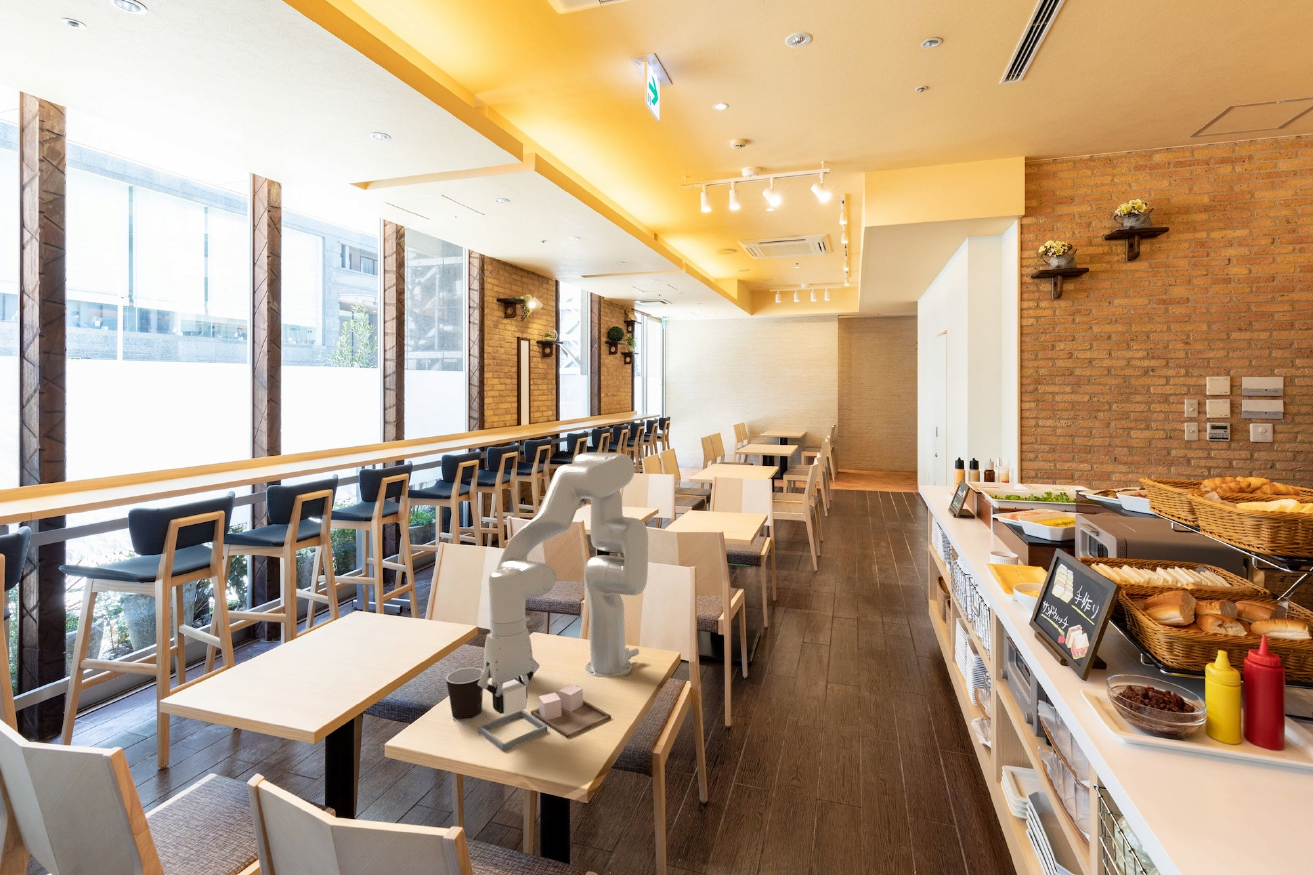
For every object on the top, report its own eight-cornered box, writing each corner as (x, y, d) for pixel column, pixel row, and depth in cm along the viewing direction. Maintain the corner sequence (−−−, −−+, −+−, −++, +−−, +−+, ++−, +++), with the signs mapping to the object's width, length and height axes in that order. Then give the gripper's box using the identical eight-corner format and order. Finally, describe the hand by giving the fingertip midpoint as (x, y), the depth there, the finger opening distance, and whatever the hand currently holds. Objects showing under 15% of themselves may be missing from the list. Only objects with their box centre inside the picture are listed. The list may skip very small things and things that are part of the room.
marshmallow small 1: (571, 700, 155) (570, 684, 155) (583, 704, 153) (582, 688, 152) (559, 706, 152) (558, 690, 152) (571, 711, 149) (570, 695, 149)
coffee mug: (475, 727, 145) (473, 684, 145) (441, 724, 147) (438, 682, 147) (497, 702, 157) (496, 663, 156) (465, 700, 159) (463, 661, 158)
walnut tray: (573, 700, 157) (572, 694, 157) (611, 722, 146) (610, 715, 146) (530, 718, 149) (530, 711, 149) (567, 742, 138) (567, 735, 138)
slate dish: (521, 718, 149) (521, 709, 149) (547, 735, 141) (547, 726, 141) (478, 736, 142) (477, 726, 141) (503, 755, 133) (502, 745, 133)
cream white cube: (515, 700, 144) (514, 679, 144) (526, 708, 140) (525, 686, 140) (494, 708, 141) (494, 686, 140) (506, 716, 137) (505, 693, 137)
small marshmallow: (555, 708, 151) (555, 692, 151) (561, 716, 147) (560, 699, 147) (539, 713, 149) (538, 696, 149) (544, 720, 146) (544, 703, 145)
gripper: (532, 613, 148) (534, 689, 149) (463, 631, 137) (466, 714, 137) (550, 620, 142) (552, 700, 143) (480, 640, 131) (483, 727, 132)
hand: (510, 706), depth 140 cm, fingers closed on cream white cube, 4 cm apart
